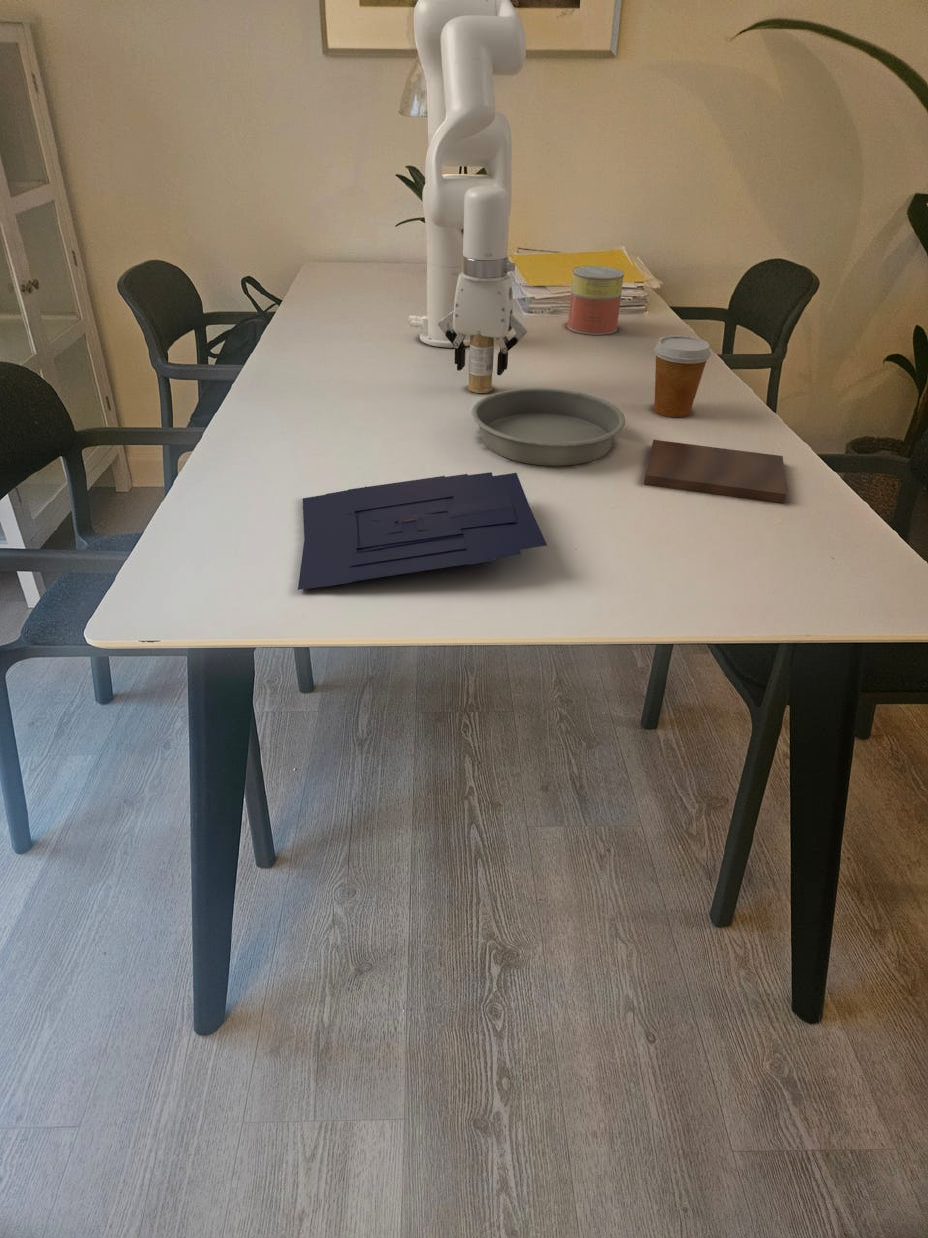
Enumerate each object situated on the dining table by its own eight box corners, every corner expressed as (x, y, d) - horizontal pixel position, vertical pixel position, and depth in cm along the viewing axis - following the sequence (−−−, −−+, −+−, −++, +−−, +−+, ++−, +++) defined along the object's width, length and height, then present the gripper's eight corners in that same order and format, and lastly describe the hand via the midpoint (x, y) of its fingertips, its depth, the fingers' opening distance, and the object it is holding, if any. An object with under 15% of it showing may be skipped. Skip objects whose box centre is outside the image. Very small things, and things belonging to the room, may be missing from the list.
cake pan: (633, 424, 146) (637, 398, 144) (605, 482, 127) (609, 453, 125) (496, 403, 153) (497, 378, 150) (449, 455, 133) (450, 428, 131)
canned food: (625, 326, 195) (632, 270, 189) (604, 337, 187) (611, 280, 181) (580, 317, 200) (586, 263, 193) (558, 328, 192) (563, 272, 185)
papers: (551, 572, 103) (550, 546, 101) (302, 610, 101) (296, 584, 99) (515, 484, 123) (513, 461, 120) (306, 514, 121) (301, 491, 119)
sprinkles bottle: (481, 383, 161) (484, 310, 153) (497, 390, 158) (501, 316, 150) (462, 388, 158) (464, 314, 151) (478, 395, 156) (481, 320, 148)
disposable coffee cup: (704, 407, 154) (717, 339, 147) (692, 424, 147) (705, 354, 140) (652, 397, 157) (662, 331, 150) (638, 414, 150) (649, 345, 143)
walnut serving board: (643, 484, 127) (645, 474, 126) (651, 448, 138) (653, 439, 137) (783, 503, 123) (786, 494, 122) (780, 464, 134) (782, 455, 133)
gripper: (538, 267, 147) (531, 369, 157) (442, 258, 151) (440, 359, 161) (530, 276, 141) (523, 382, 151) (429, 267, 145) (429, 371, 155)
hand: (480, 369), depth 156 cm, fingers open, 6 cm apart
